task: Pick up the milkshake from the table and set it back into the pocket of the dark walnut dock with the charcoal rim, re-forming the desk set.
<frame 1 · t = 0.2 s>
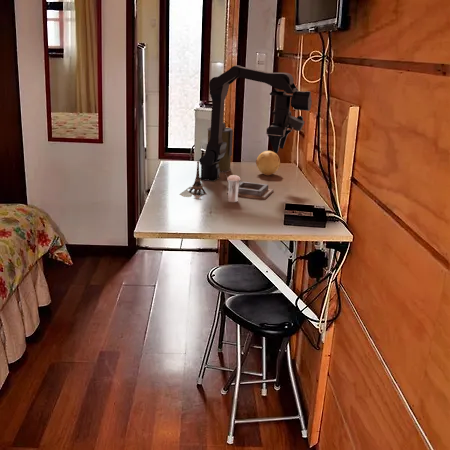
hand: (278, 150, 211), 14 cm above the table, fingers open, 9 cm apart
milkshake: (231, 201, 196), on the table
canister: (219, 170, 241), on the table
eiffel tower figurine: (196, 194, 205), on the table
dock: (250, 193, 207), on the table
stress ball: (267, 175, 235), on the table
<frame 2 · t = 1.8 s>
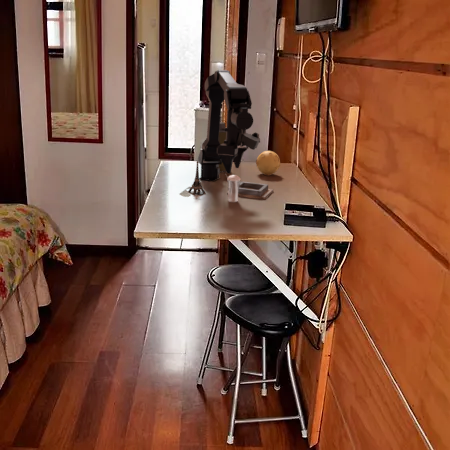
hand: (233, 170, 193), 11 cm above the table, fingers open, 9 cm apart
nothing on the table moved.
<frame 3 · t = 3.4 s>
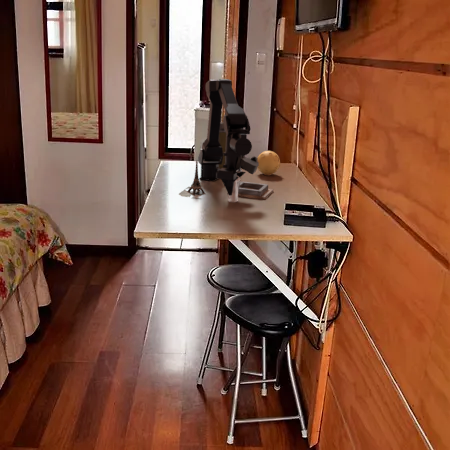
hand: (232, 193, 195), 3 cm above the table, fingers closed on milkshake, 4 cm apart
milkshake: (231, 201, 196), on the table, touching gripper
everything else where it was.
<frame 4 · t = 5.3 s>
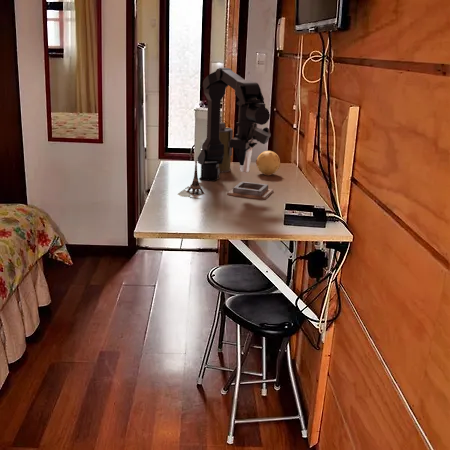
hand: (243, 164, 199), 12 cm above the table, fingers closed on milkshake, 4 cm apart
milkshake: (243, 171, 200), point 9 cm above the table, touching gripper
everything else where it was.
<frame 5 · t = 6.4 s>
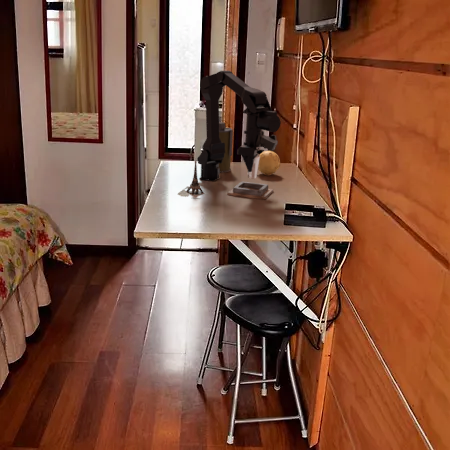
hand: (251, 170, 204), 8 cm above the table, fingers closed on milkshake, 4 cm apart
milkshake: (251, 178, 205), point 6 cm above the table, touching gripper
everything else where it was.
when the fingers open (5 cm above the table, at t = 7.3 s): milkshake drops 1 cm, resting on dock.
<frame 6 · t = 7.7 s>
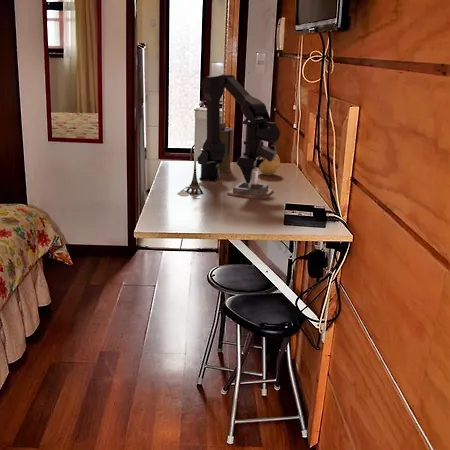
hand: (251, 180, 205), 5 cm above the table, fingers open, 8 cm apart
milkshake: (250, 191, 206), point 1 cm above the table, touching dock
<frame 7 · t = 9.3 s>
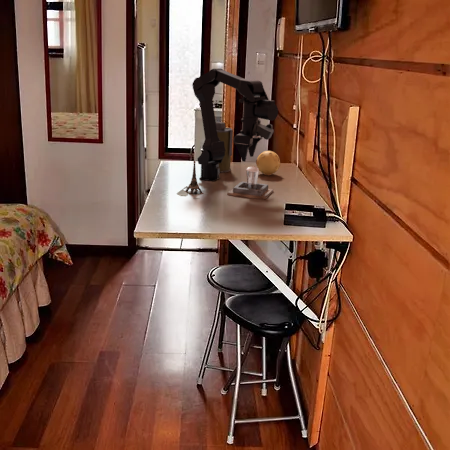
hand: (247, 158, 208), 12 cm above the table, fingers open, 9 cm apart
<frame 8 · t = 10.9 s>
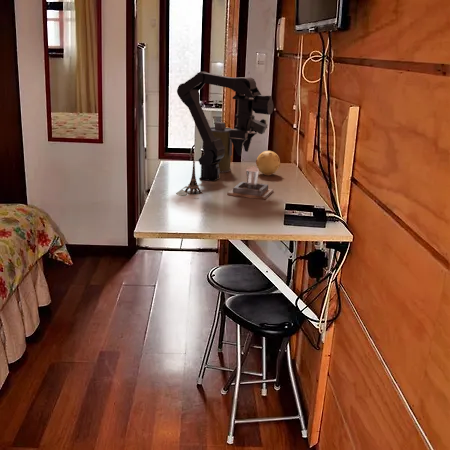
hand: (243, 153, 215), 12 cm above the table, fingers open, 9 cm apart
at the end: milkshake 0.3 cm off-centre on the dock, point 0.6 cm above the dock's base; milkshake tilted 0°; the gripper is holding nothing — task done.
